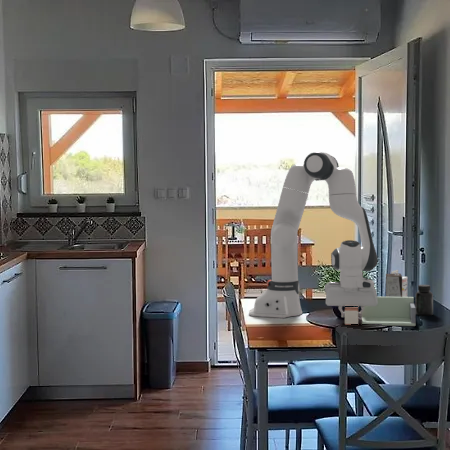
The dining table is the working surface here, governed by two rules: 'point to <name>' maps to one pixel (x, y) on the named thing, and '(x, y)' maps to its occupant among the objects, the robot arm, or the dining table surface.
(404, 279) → the ink cartridge box
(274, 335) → the dining table surface
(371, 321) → the pale green storage bin
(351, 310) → the beige box
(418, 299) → the supplement bottle
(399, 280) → the coffee box
